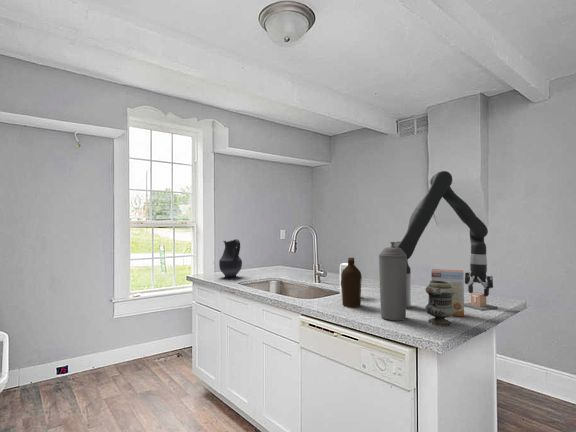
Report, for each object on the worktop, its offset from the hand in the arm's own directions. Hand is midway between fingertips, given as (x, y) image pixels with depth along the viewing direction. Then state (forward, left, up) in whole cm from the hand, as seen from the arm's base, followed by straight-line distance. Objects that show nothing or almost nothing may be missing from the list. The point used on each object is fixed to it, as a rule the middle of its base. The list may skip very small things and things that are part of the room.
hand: (478, 294), depth 185 cm
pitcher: (-87, +144, -6) cm, 168 cm away
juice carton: (-45, +51, -6) cm, 68 cm away
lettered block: (0, 0, -6) cm, 6 cm away
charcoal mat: (0, 0, -6) cm, 6 cm away
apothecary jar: (-40, -11, -6) cm, 42 cm away
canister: (-53, +4, -6) cm, 53 cm away
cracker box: (-25, -3, -6) cm, 26 cm away
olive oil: (-56, +32, -6) cm, 65 cm away
